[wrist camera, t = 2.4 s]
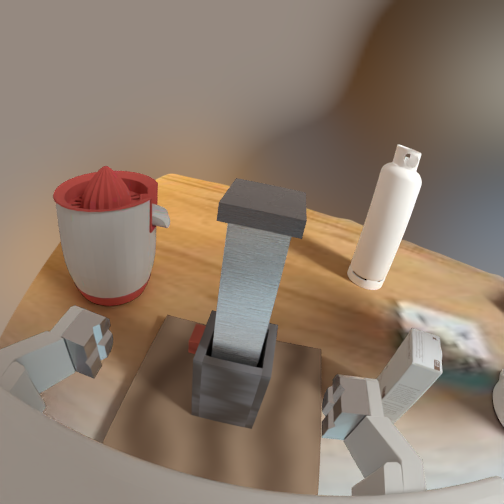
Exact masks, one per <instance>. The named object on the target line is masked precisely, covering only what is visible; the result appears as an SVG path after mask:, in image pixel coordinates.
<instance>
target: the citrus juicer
mask: <svg viewBox="0 0 504 504" xmlns="http://www.w3.org/2000/svg"><path fill="white" fill-rule="evenodd" d="M157 190H158V183H157V182H156V181H155V180H154V179H152V178H151V177H149V176H146V175H143V174H139V173H135V172H127V171H113V170H112V169H111V168H109V167H108V166H104V167H102V168H101V169H100V170H99V171H98V172H94V173H89V174H84V175H81V176H77V177H75V178H72V179H69V180H67V181H65V182H64V183H62V184H61V185H60V186H58V187H57V188H56V190H55V192H54V195H53V198H54V200H55V202H56V209H57V217H58V225H59V232H60V238H61V245H62V250H63V255H64V259H65V263H66V266H67V268H68V271H69V273H70V275H71V277H72V279H73V280H74V283H75V285H76V287H77V288H78V290H79V291H80V292H81V293H82V295H83V296H84V297H85V298H86V299H87V300H89V301H91V302H93V303H96V304H99V305H108V306H113V305H120V304H124V303H127V302H129V301H132V300H133V299H135V298H137V297H138V296H139V295H140V294H141V293H142V292H143V291H144V289H145V287H146V285H147V283H148V280H149V278H150V275H151V270H152V267H153V263H154V257H155V249H156V226H160V227H165V228H168V227H169V225H170V218H169V215H168V211H167V210H166V209H165V208H163V207H161V206H159V205H157Z"/></svg>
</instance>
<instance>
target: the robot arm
mask: <svg viewBox="0 0 504 504" xmlns="http://www.w3.org/2000/svg"><path fill="white" fill-rule="evenodd" d="M110 326H111V325H110V320H109V319H108V318H106V317H104V316H101V315H98V314H96V313H93V312H91V311H88V310H86V309H83V308H81V307H78V306H76V305H74V306H72V307H70V309H69V310H68V311H67V312H66V313H65V314H64V316H63V317H62V318H61V319H60V320H59V321H58V323H57V324H56V325H55V326H54V327H53V329H52V330H51V331H50V332H49V331H45V332H43V333H40V334H38V335H35V336H32V337H30V338H27V339H25V340H22V341H20V342H17V343H15V344H12V345H10V346H7V347H5V348H2V349H0V504H504V480H503V479H502V478H501V477H498V476H495V477H489V478H486V479H482V480H478V481H474V482H470V483H465V484H461V485H456V486H451V487H445V488H440V489H433V490H427V491H426V482H425V474H424V466H423V460H422V459H421V457H420V456H419V455H418V454H417V452H416V451H415V450H414V449H413V448H412V446H411V445H410V444H409V443H408V441H407V440H406V439H405V438H404V437H403V435H402V434H401V433H400V432H399V430H398V429H397V428H396V427H395V425H394V424H393V423H392V422H391V421H390V419H389V418H388V417H384V413H383V406H382V400H381V393H380V387H379V382H378V380H377V379H371V378H363V377H356V376H348V375H340V374H337V375H336V376H335V377H334V379H333V386H331V387H328V389H327V390H326V392H325V395H324V398H323V403H322V412H323V414H324V415H325V416H326V417H325V418H324V420H323V421H322V438H330V439H339V440H344V443H345V445H346V447H347V448H348V450H349V452H350V454H351V455H352V457H353V459H354V461H355V462H356V464H357V466H358V468H359V469H360V471H361V473H362V475H363V476H364V478H365V479H363V480H362V481H360V482H359V483H357V484H356V485H355V486H353V487H352V496H326V495H307V494H295V493H285V492H276V491H269V490H262V489H255V488H249V487H243V486H238V485H233V484H228V483H223V482H218V481H214V480H209V479H205V478H201V477H197V476H193V475H190V474H186V473H183V472H179V471H176V470H172V469H169V468H166V467H163V466H160V465H157V464H154V463H151V462H148V461H145V460H142V459H139V458H137V457H134V456H131V455H129V454H126V453H124V452H121V451H119V450H116V449H114V448H111V447H109V446H107V445H104V444H102V443H100V442H98V441H95V440H93V439H91V438H89V437H87V436H85V435H83V434H81V433H79V432H77V431H75V430H73V429H71V428H69V427H67V426H65V425H63V424H61V423H59V422H57V421H56V420H54V419H52V418H50V417H49V416H47V415H45V414H43V413H42V412H43V410H44V409H45V407H46V405H45V402H44V400H43V399H42V397H41V395H40V393H41V392H43V391H45V390H46V389H48V388H50V387H51V386H53V385H55V384H56V383H58V382H60V381H61V380H63V379H65V378H66V377H68V376H70V375H71V374H73V373H75V371H77V372H79V373H82V374H84V375H86V376H89V377H91V378H95V376H96V375H97V373H98V371H99V370H100V368H101V367H102V363H101V360H102V359H105V358H107V357H108V355H109V353H110V352H111V349H112V345H113V335H112V333H111V332H110V331H109V327H110ZM493 404H494V408H495V411H496V414H497V416H498V418H499V420H500V422H501V424H502V425H503V426H504V369H503V370H502V371H501V372H500V377H499V381H498V383H497V384H496V385H495V387H494V390H493Z"/></svg>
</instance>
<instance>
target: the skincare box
mask: <svg viewBox="0 0 504 504" xmlns="http://www.w3.org/2000/svg"><path fill="white" fill-rule="evenodd" d="M441 374H442V350H441V346H440V337H439V336H436V335H433V334H430V333H427V332H424V331H421V330H418V329H414V328H411V330H410V332H409V333H408V335H407V336H406V338H405V339H404V341H403V342H402V344H401V345H400V347H399V348H398V349H397V351H396V352H395V354H394V355H393V357H392V358H391V359H390V361H389V362H388V364H387V365H386V367H385V368H384V369H383V371H382V372H381V373H380V375H379V376H378V377H377V380H378V382H379V387H380V393H381V400H382V406H383V413H384V417H388V418H389V419H390V421H391V422H392V423H393V424H394V423H395V422H396V421H397V420H398V419H399V418H400V417H401V416H402V415H403V414H404V413H405V412H406V411H407V410H408V409H409V408H410V407H411V406H412V405H413V404H414V403H415V402H416V401H417V400H418V399H419V398H420V397H421V396H422V395H423V394H424V393H425V392H426V391H427V390H428V389H429V387H430V386H431V385H432V384H433V383H434V382H435V381H436V380H437V379H438V377H439V376H440V375H441Z"/></svg>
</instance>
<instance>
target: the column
mask: <svg viewBox="0 0 504 504" xmlns="http://www.w3.org/2000/svg"><path fill="white" fill-rule="evenodd" d="M217 221H221V222H225V223H228V226H227V234H226V241H225V248H224V256H223V264H222V271H221V279H220V287H219V295H218V303H217V312H216V320H215V329H214V338H213V346H212V355H211V357H214V358H218V359H222V360H226V361H230V362H235V363H239V364H244V365H248V366H253V367H257V364H258V360H259V357H260V353H261V349H262V346H263V342H264V339H265V335H266V331H267V328H268V324H269V320H270V317H271V313H272V309H273V306H274V302H275V298H276V294H277V291H278V287H279V283H280V279H281V275H282V271H283V267H284V264H285V260H286V256H287V252H288V248H289V244H290V240H291V237H296V238H300V239H302V236H303V232H304V229H305V225H306V221H307V220H306V193H305V192H300V191H296V190H291V189H286V188H282V187H277V186H272V185H267V184H262V183H258V182H253V181H247V180H242V179H237V178H236V179H235V181H234V182H233V184H232V185H231V186H230V188H229V189H228V190H227V192H226V193H225V195H224V196H223V198H222V199H221V200H220V202H219V207H218V215H217Z"/></svg>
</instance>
